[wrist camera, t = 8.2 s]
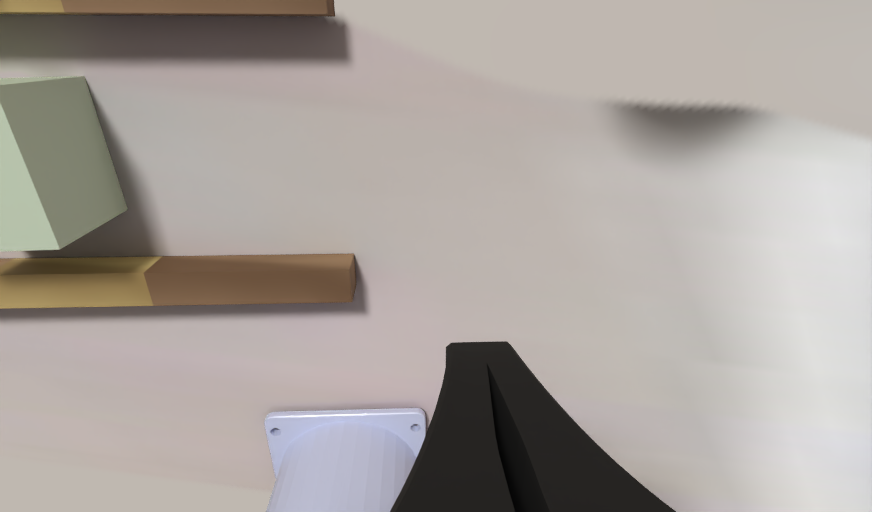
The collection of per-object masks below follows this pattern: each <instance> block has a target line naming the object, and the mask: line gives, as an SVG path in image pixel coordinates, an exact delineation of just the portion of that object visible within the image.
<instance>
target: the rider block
mask: <svg viewBox="0 0 872 512" xmlns="http://www.w3.org/2000/svg"><path fill="white" fill-rule="evenodd" d="M126 210H128V209H127V206H126V203H125V199H124V196H123V193H122V190H121V187H120V184H119V181H118V178H117V175H116V172H115V169H114V166H113V163H112V160H111V157H110V153H109V150H108V147H107V144H106V141H105V138H104V135H103V132H102V129H101V126H100V123H99V120H98V117H97V114H96V111H95V107H94V104H93V101H92V98H91V95H90V92H89V89H88V86H87V83H86V80H85V77H84V76H71V77H30V78H0V252H2V251H30V250H59V249H62V248H63V247H65V246H67V245H68V244H70V243H72V242H74V241H75V240H77V239H79V238H80V237H82V236H84V235H85V234H87V233H89V232H91V231H92V230H94V229H96V228H97V227H99V226H101V225H103V224H104V223H106V222H108V221H109V220H111V219H113V218H114V217H116V216H118V215H120V214H121V213H123V212H125V211H126Z"/></svg>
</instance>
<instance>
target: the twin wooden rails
mask: <svg viewBox="0 0 872 512" xmlns="http://www.w3.org/2000/svg"><path fill="white" fill-rule="evenodd" d="M0 14H64V15H210V16H335V11H334V0H0ZM355 288H356V274H355V261H354V254H300V255H228V256H156V257H84V258H12V259H0V309H1V308H57V307H112V306H167V305H222V304H277V303H333V302H352V301H353V297H354V292H355Z"/></svg>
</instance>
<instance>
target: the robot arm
mask: <svg viewBox="0 0 872 512" xmlns="http://www.w3.org/2000/svg"><path fill="white" fill-rule="evenodd" d="M413 424H418V426H413ZM264 425H265V430H266V435H267V439H268V444H269V449H270V454H271V459H272V463H273V468H274V473H275V478H276V482H275V485H274V488H273V491H272V494H271V497H270V501H269V504H268V507H267V511H266V512H676V511H674V510H673V509H672V508H670V507H669V506H668V505H667V504H665V503H664V502H663V501H661V500H660V499H659V498H658V497H656V496H655V495H654V494H653V493H651V492H650V491H649V490H648V489H646V488H645V487H644V486H643V485H642V484H640V483H639V482H638V481H637V480H636V479H635V478H633V477H632V476H631V475H630V474H629V473H628V472H627V471H625V470H624V469H623V468H622V467H621V466H620V465H619V464H617V463H616V462H615V461H614V460H613V459H612V458H611V457H610V456H609V455H608V454H607V453H606V452H605V451H604V450H603V449H601V448H600V447H599V446H598V445H597V444H596V443H595V442H594V441H593V440H592V439H591V438H590V437H589V436H588V435H587V434H586V433H585V432H584V431H583V430H582V429H581V428H580V427H579V426H578V424H577V423H576V422H575V421H574V420H573V419H572V418H571V417H570V416H569V415H568V414H567V413H566V412H565V410H564V409H563V408H562V407H561V406H560V405H559V404H558V403H557V401H556V400H555V399H554V398H553V397H552V396H551V395H550V394H549V392H548V391H547V390H546V389H545V388H544V387H543V385H542V384H541V383H540V382H539V381H538V379H537V378H536V377H535V376H534V374H533V373H532V372H531V371H530V369H529V368H528V367H527V366H526V364H525V363H524V362H523V361H522V359H521V358H520V357H519V355H518V354H517V353H516V351H515V350H514V349H513V347H512V346H511V345H510V344H509V343H508V342H463V343H451V344H449V345H448V346H447V347H446V369H445V374H444V379H443V384H442V388H441V391H440V395H439V398H438V402H437V405H436V409H435V412H434V415H433V417H432V420H431V423H430V425H429V428H428V431H427V433H426V422H425V412H424V411H423V410H422V409H419V408H394V409H358V410H321V411H285V412H271V413H269V414H268V415H267V416H266V419H265V421H264ZM274 428H278V429H279V430H276V429H274Z"/></svg>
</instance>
